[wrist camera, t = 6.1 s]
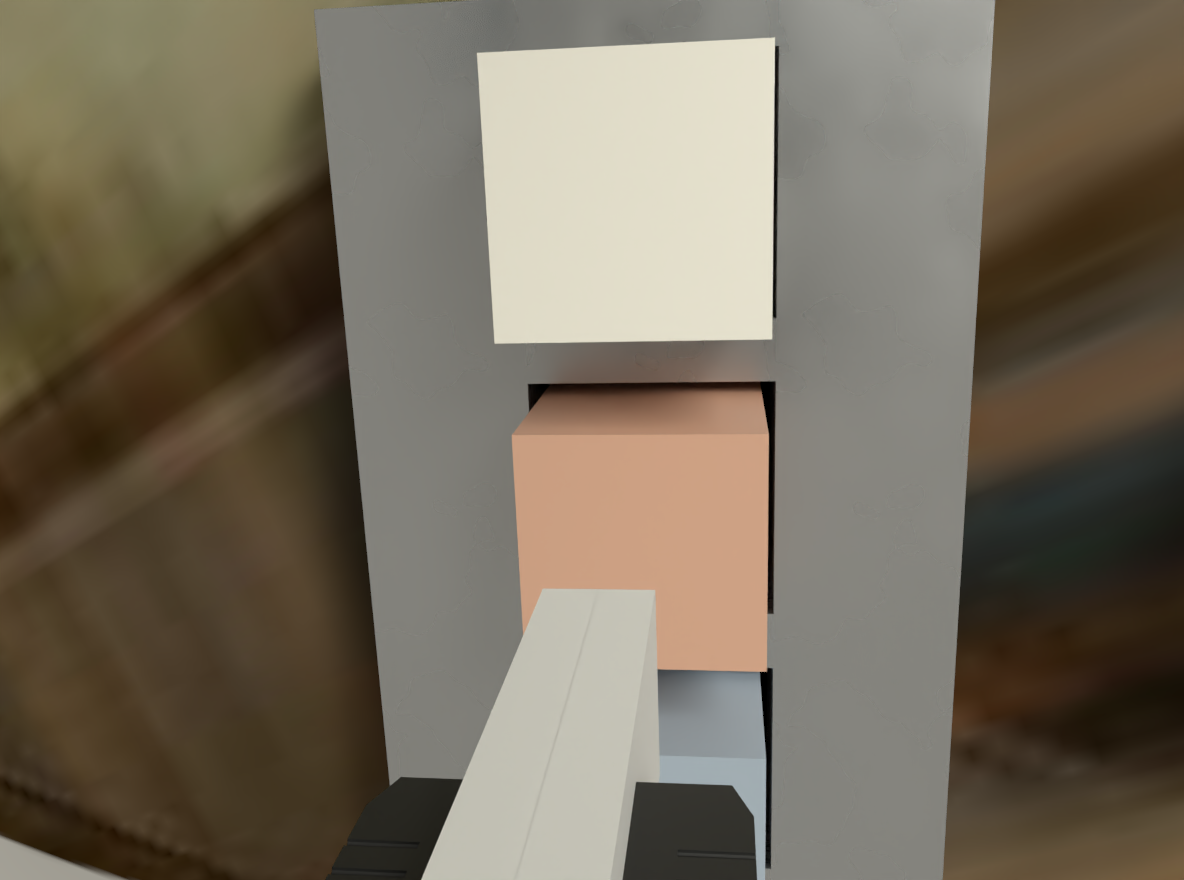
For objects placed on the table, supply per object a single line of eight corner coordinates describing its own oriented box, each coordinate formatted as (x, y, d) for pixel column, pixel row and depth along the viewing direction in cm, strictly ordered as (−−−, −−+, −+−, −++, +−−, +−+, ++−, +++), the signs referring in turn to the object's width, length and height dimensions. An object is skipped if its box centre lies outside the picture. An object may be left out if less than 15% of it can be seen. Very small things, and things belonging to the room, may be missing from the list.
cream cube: (529, 75, 22) (476, 52, 18) (763, 64, 22) (775, 37, 17) (540, 306, 24) (494, 343, 19) (762, 302, 23) (772, 339, 18)
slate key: (563, 645, 27) (529, 750, 22) (758, 650, 26) (766, 759, 22) (571, 813, 28) (540, 947, 24) (757, 821, 28) (764, 960, 23)
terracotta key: (551, 382, 25) (511, 435, 20) (759, 380, 25) (768, 433, 20) (560, 574, 26) (525, 666, 22) (758, 576, 26) (767, 672, 21)
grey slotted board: (361, 26, 25) (314, 9, 22) (963, -7, 23) (997, -30, 20) (430, 821, 31) (400, 889, 28) (918, 842, 29) (940, 918, 26)
